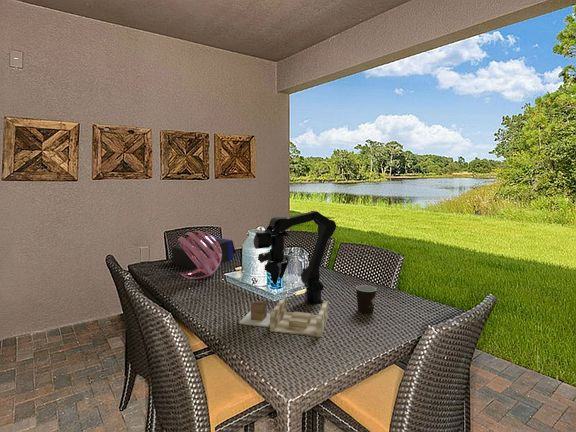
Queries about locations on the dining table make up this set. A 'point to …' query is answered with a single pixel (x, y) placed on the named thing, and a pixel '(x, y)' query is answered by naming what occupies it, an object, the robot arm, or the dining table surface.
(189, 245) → the spiral basket
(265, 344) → the dining table surface
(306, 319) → the slot box
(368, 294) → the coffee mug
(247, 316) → the grey mat
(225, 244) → the headphone box
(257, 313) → the walnut block
